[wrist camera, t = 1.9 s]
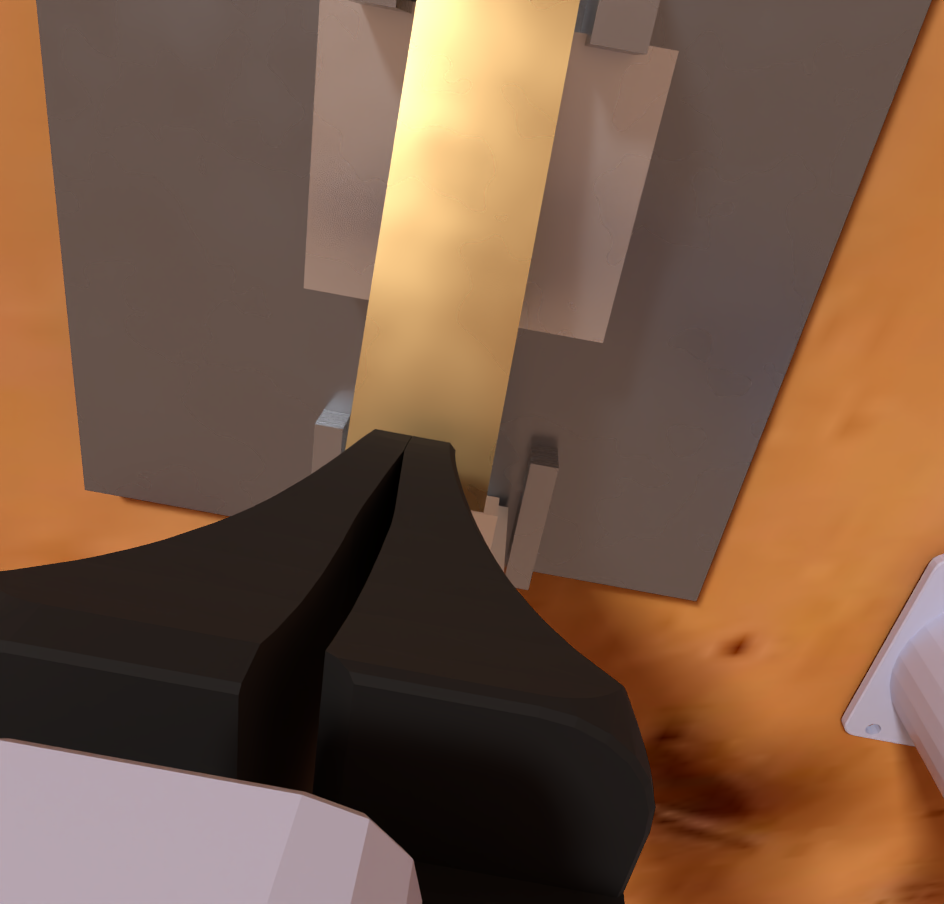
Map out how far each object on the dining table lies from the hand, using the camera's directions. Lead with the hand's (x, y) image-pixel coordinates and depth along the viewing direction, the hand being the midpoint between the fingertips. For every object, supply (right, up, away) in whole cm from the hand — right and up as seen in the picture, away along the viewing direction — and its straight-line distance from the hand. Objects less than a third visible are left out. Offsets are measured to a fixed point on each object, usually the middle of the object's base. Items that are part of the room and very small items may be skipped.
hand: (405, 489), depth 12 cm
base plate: (0, +6, +8) cm, 11 cm away
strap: (+1, +5, +2) cm, 6 cm away
